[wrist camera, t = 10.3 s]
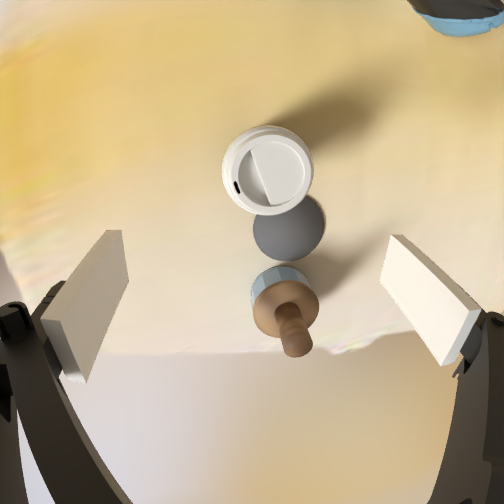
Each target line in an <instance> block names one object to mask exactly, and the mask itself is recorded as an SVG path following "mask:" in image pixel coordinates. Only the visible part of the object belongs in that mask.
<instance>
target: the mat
mask: <svg viewBox="0 0 504 504" xmlns="http://www.w3.org/2000/svg"><path fill="white" fill-rule="evenodd" d="M323 229H324V220H323V216H322V213H321V211H320V209H319V207H318V206H317V205H316V204H315V203H314V202H313V201H312V200H311V199H309V198H308V197H306V196H305V197H304V198H303V200H302V201H301V202H300V203H299V204H297V205H296V206H295V207H293V208H292V209H290V210H288V211H286V212H284V213H281V214H277V215H258V214H257V215H256V217H255V220H254V226H253V232H254V237H255V241H256V243H257V245H258V247H259V248H260V249H261V251H262V252H263V253H264V254H266V255H267V256H269V257H271V258H273V259H275V260H279V261H293V260H297V259H300V258H302V257H304V256H306V255H307V254H309V253H310V252H311V251H312V250H313V249H314V248H315V247H316V246H317V245H318V243H319V241H320V239H321V237H322V234H323Z"/></svg>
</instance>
